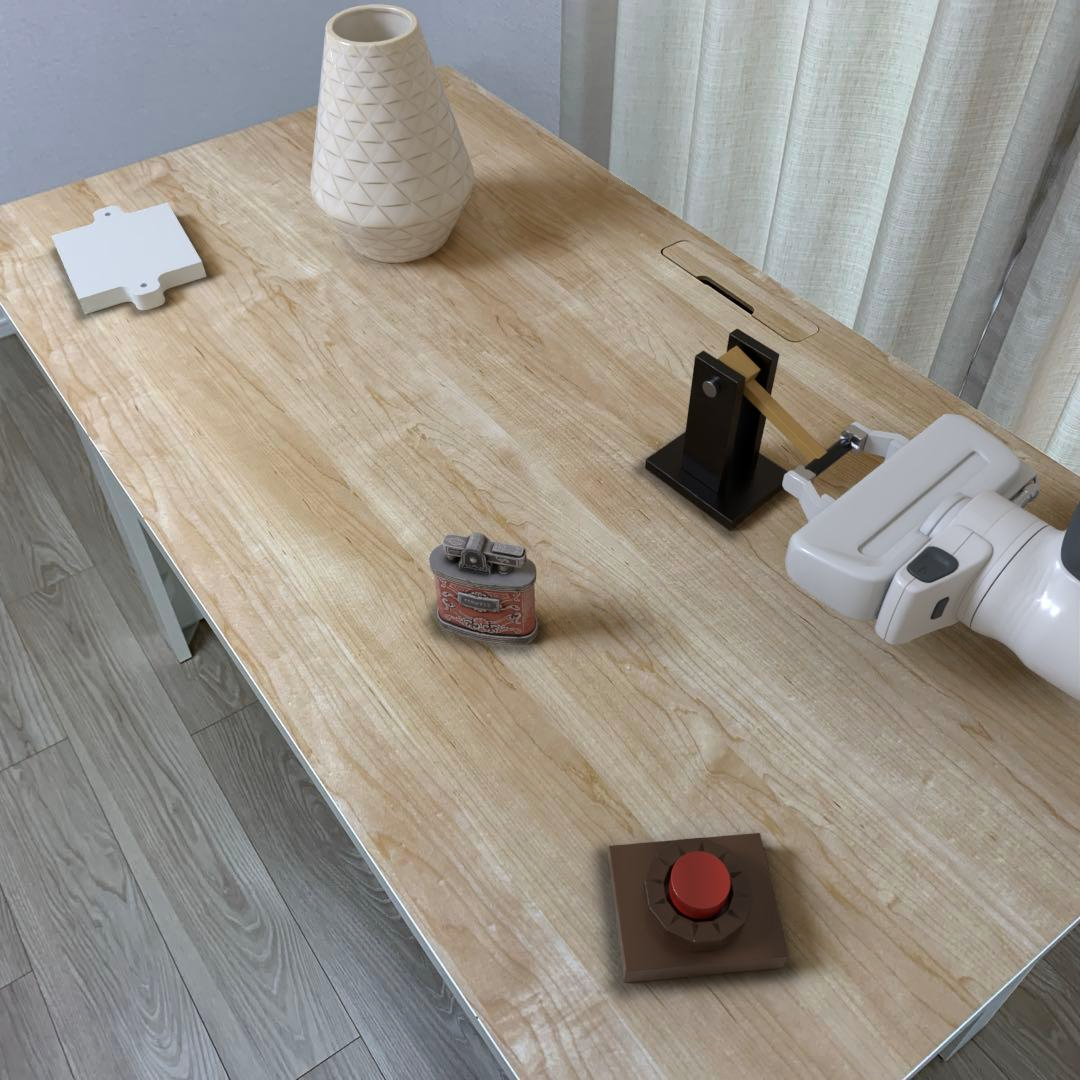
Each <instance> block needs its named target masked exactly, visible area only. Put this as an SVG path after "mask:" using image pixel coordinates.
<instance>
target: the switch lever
mask: <svg viewBox="0 0 1080 1080" xmlns="http://www.w3.org/2000/svg"><path fill="white" fill-rule="evenodd" d="M717 359H718V360H719V361H721V362H723V363H724V364H726V365H727V366H729V367H730V368H732V369H734V370H735V371H737V372H738V373H740V374H741V375H743V376H744V377H746V380H745V385H744V391H743V394H744V395H745V396H746V397H747V399H748V400H749V401H750V402H751V403H752V404H753V405H754V406H755V407H756V408H757V409H758V410H759V411H760V412H761V413H762V414H763V415H764V416H765V417H766V420H768V421H769V422H770V423H771V424H772V425H773V426H774V427H775V428H776V429H777V430H778V431H779V432H780V433H781V434H782V435H783V436H784V437H785V438H786V439H787V440H788V441H789V442H790V443H791V444H792V446H794V447H795V448H796V449H797V450H798V451H799V452H800V453H801V454H802V455H803V456H804V457H805V458H806V459H807V460H808V461H809V462H808V463H807V464H806V465H805V466H804V467H805V469H807V470H810V471H812V472H813V473H815V474H816V476H815V479H816V478H818V477H819V476H820V475H821V474H823V473H824V472H825V471H826V470H828V469H829V468H830V467H831V466H833V465H835V463H837V462H838V461H840V459H842V458H843V457H845V456H846V455H847V454H848V453H850V452H849V451H850V450H851V448H852V447H851V443H850V442H849V441H848V440H847V439H845V438H841V439H840V438H839V439H840V440H839V439H838V440H837V441H835V442H834V443H833V444H831V446H829V447H827V448H826V449H825V448H823V447H824V446H822V445H820V443H819V442H818V441H817V440H816V439H814V437H813V436H812V435H811V434H810V433H809V432H807V430H806V429H805V428H804V427H803V426H802V425H801V424H800V423H799V422H798V421H797V420H796V419H795V418H794V417H793V416H792V415H791V414H790V413H789V412H788V411H787V410H786V409H785V408H784V407H783V406H781V404H780V403H779V402H778V401H777V400H776V399H775V398H774V397H773V395H772V394H771V395H770V394H769V393H768V392H767V391H766V390H765V389H764V388H763V387H762V386H761V385H760V384H759V383H758V382H757V381H756V380H755V378H756V376H757V375H758V373H759V372H760V370H761V369H760V368H759V367H758V366H757V365H756V364H755V363H754V362H753V361H752V360H751V359H750V358H749V357H748V356H747V355H746V354H745V353H744V352H743V351H742V350H741V349H740V348H739V347H738V346H735V347H734V348H732V349H731V350H729V351H728V352H726V351H725V352H724V353H723V354H722V355H720V356H718V357H717Z"/></svg>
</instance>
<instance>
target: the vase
mask: <svg viewBox="0 0 1080 1080" xmlns="http://www.w3.org/2000/svg"><path fill="white" fill-rule="evenodd" d="M324 29H325V30H324V39H323V51H322V61H321V70H320V80H319V92H318V99H317V100H318V102H317V103H318V104H317V111H316V121H315V131H314V132H315V133H314V141H313V152H312V163H311V172H310V183H309V186H310V187H309V188H310V194H311V197H312V200H313V202H314V203H315V206H316V207H317V209H318V210H319V211H320V212H321V213H322V214H323V215H324V216H325V218H327V220H328V221H329V222H330V223H331V224H332V225H333V226H334V227H335V228H336V229H337V230H338V232H339V233H340V234H341V235H342V236H343V237H344V238H345V239H346V241H347V242H348V243H349V244H350V245H351V246H352V247H353V248H354V249H355V251H357V252H358V253H359V254H360V255H362V256H363V257H365V258H368V259H370V260H373V261H376V262H381V263H388V264H403V263H410V262H415V261H418V260H422V259H425V258H427V257H429V256H430V255H433V254H434V253H436V252H438V251H439V250H440V249H441V248H442V247H443V246H444V245H445V243H446V242H447V241H448V239H449V237H450V235H451V234H452V231H453V229H454V228H455V226H456V224H457V222H458V220H459V218H460V216H461V214H462V213H463V210H464V208H465V207H466V204H467V202H468V200H469V199H470V197H471V195H472V193H473V190H474V186H475V181H476V180H475V179H476V178H475V169H474V166H473V163H472V160H471V158H470V154H469V153H468V149H467V147H466V145H465V142H464V139H463V137H462V134H461V131H460V128H459V126H458V124H457V123H458V122H457V121H456V118H455V115H454V113H453V110H452V107H451V104H450V102H449V99H448V97H447V94H446V91H445V89H444V86H443V84H442V83H443V82H442V81H441V78H440V75H439V72H438V69H437V67H436V65H435V61H434V59H433V56H432V54H431V52H430V49H429V46H428V44H427V40H426V38H425V35H424V33H423V30H422V28H421V25H420V22H419V19H418V17H417V16H416V15H415V13H414V12H412V11H410V10H408V9H407V8H405V7H402V6H399V5H392V4H385V3H370V4H369V3H368V4H362V5H356V6H352V7H349V8H346V9H344V10H340V11H339V12H337V13H335V14H334V15H333V16H332V17H330V19H329V20H328V21H327V22H326V24H325V28H324Z"/></svg>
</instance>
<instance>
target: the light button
mask: <svg viewBox="0 0 1080 1080" xmlns="http://www.w3.org/2000/svg"><path fill="white" fill-rule="evenodd" d="M730 885H731V881H730V875H729V872H728V870H727V868H726V866H725V865H724V864H723V863H722V861H721V860H719V859H718V858H717V857H715V856H714V855H712V854H709V853H707V852H701V851H695V852H690V853H687V854H685V855H683V856H682V857H680V858H679V859H678V860H677V861H676V863H675V864H674V866H673V869H672V872H671V877H670V882H669V894H670V898H671V900H672V902H673V904H674V905H675V907H676V908H677V909H678V910H679V911H680V912H682V913H683V914H684V915H686V916H688V917H691V918H695V919H706V918H710V917H712V916H714V915H716V914H717V913H719V912H720V911H721V909H722V908H723V907H724V905H725V903H726V900H727V897H728V894H729V890H730Z"/></svg>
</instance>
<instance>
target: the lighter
mask: <svg viewBox="0 0 1080 1080" xmlns="http://www.w3.org/2000/svg"><path fill="white" fill-rule="evenodd" d="M428 562H429V568H430V571H431V573H432V574H433V580H434V585H435V592H436V598H437V606H438V607H437V611H436V614H437V620H438V624H439V625H440V627H441V628H442V629H444V630H446V631H449V632H450V633H451V632H452V633H453V634H456V635H459V636H462V637H466V638H468V639H474V640H477V641H481V642H486V643H487V642H488V643H493V644H494V643H495V644H503V645H527V644H529V643H531V642H532V641H533V640H534V639H535V638H536V636H537V635H538V632H539V631H538V630H539V623H538V619H537V616H536V595H535V593H536V590H535V583H536V582H537V566H536V564H535V563H534V561H533V560H531V559H529V558H527V548H526V547H524V546H523V545H522V546H521V545H516V544H510V543H506V542H499V541H494V540H491V539H489V538H488V537H487V536H486V535H485V534H484V533H481V532H472V533H470V535H467V536H466V535H460V534H455V533H446V534H444V537H443V539H442V544H439V545H438V546H436V547H435V548H433V550H431V553H430V554H429V558H428Z"/></svg>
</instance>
